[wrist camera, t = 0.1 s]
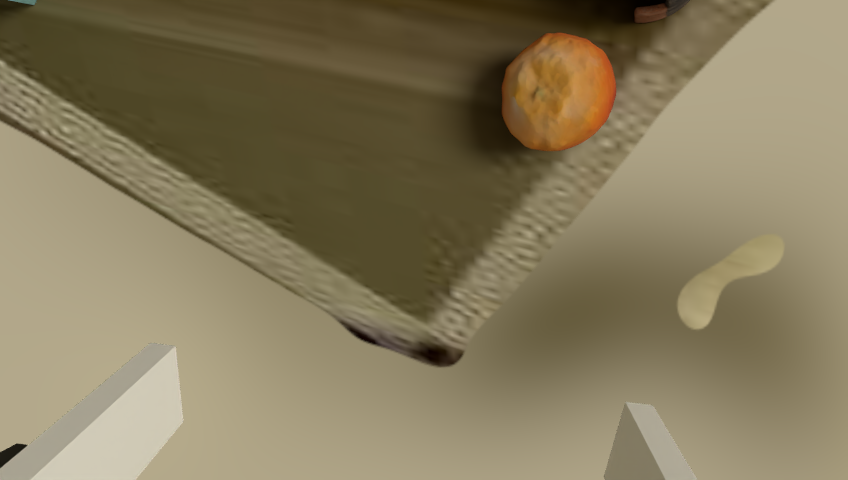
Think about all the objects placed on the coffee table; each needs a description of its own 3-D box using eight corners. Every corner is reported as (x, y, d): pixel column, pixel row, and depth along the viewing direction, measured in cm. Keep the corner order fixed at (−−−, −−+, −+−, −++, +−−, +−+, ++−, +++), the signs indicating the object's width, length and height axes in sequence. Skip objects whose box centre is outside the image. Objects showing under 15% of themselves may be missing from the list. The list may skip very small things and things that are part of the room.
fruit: (610, 161, 36) (580, 165, 30) (520, 139, 40) (476, 138, 34) (644, 53, 34) (619, 33, 27) (545, 41, 38) (502, 20, 31)
